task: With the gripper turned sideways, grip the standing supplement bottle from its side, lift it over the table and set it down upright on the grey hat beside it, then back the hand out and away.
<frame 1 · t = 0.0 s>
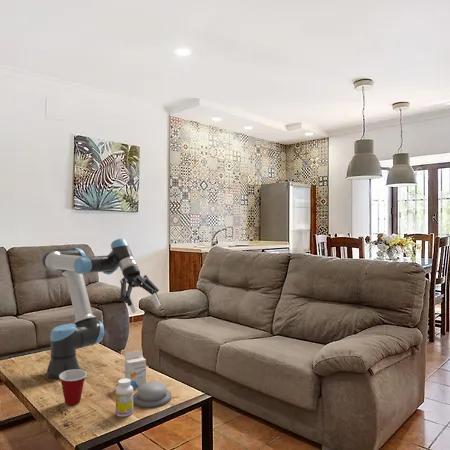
hand: (147, 309, 178), 36 cm above the table, tool tilted 35°, fingers open, 13 cm apart
supplement bottle: (124, 413, 156), on the table
plastic cup: (73, 403, 165), on the table
grey hat: (152, 399, 168), on the table
ink box: (135, 385, 183), on the table
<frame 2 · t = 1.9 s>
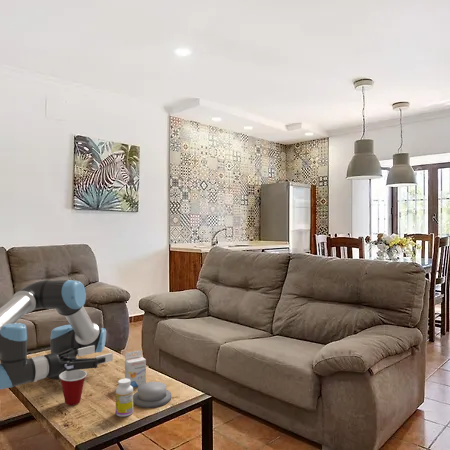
hand: (103, 352, 150), 26 cm above the table, tool horizontal, fingers open, 13 cm apart
nothing on the table moved.
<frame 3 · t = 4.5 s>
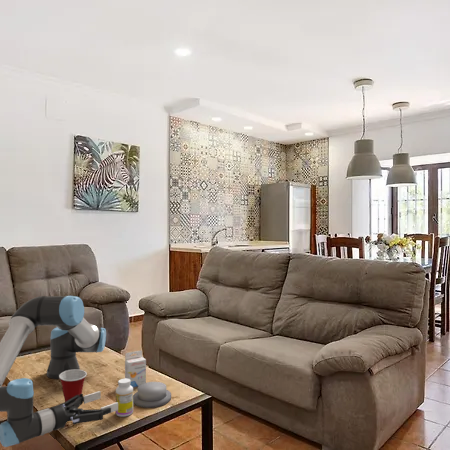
hand: (108, 400, 151), 7 cm above the table, tool horizontal, fingers open, 13 cm apart
nothing on the table moved.
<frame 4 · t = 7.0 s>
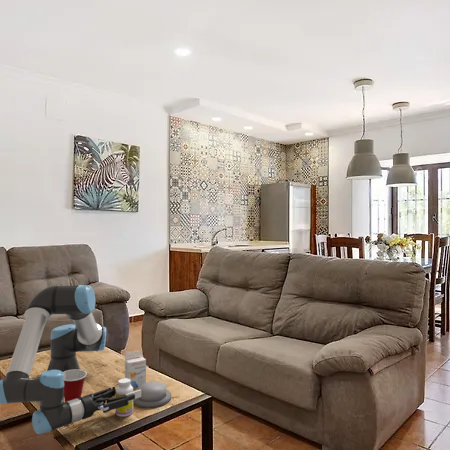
hand: (135, 390, 159), 8 cm above the table, tool horizontal, fingers closed on supplement bottle, 7 cm apart
supplement bottle: (124, 413, 156), on the table, touching gripper
everything else where it was.
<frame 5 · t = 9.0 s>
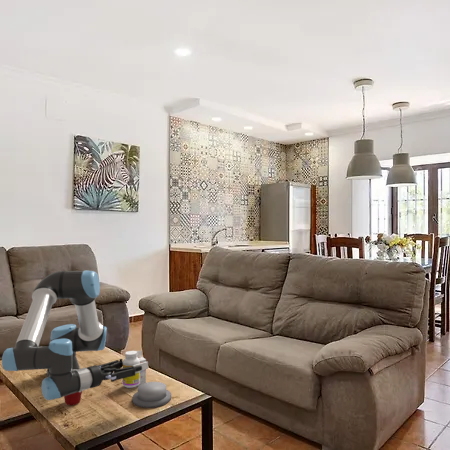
hand: (142, 362, 161), 18 cm above the table, tool horizontal, fingers closed on supplement bottle, 7 cm apart
supplement bottle: (131, 385, 158), point 10 cm above the table, touching gripper
everything else where it was.
when the fingers open (14 cm above the table, at t = 11.1 s): supplement bottle drops 1 cm, resting on grey hat.
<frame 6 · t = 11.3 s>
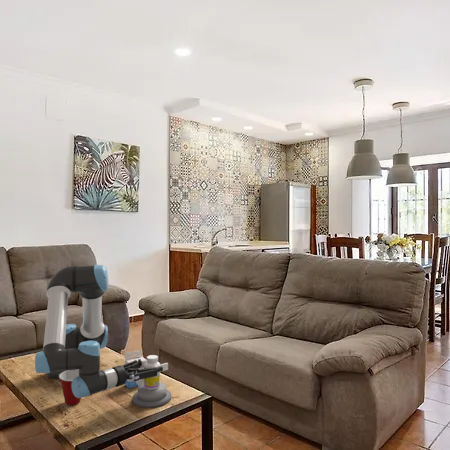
hand: (160, 363, 172), 14 cm above the table, tool horizontal, fingers open, 9 cm apart
supplement bottle: (151, 387, 168), point 5 cm above the table, touching grey hat
everything else where it was.
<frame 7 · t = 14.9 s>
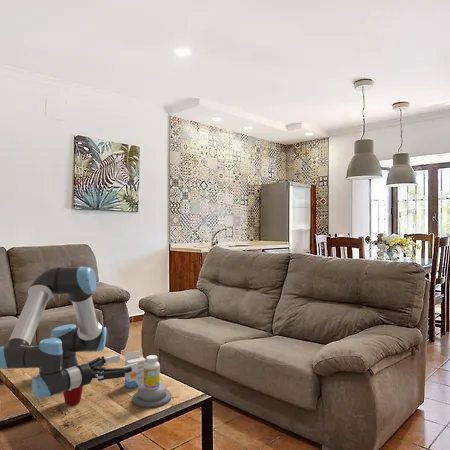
hand: (128, 361, 163), 18 cm above the table, tool horizontal, fingers open, 13 cm apart
nothing on the table moved.
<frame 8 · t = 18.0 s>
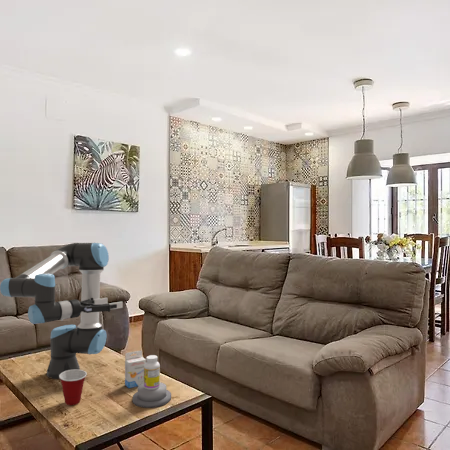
hand: (114, 302, 183), 38 cm above the table, tool horizontal, fingers open, 13 cm apart
nothing on the table moved.
at the end: supplement bottle inside the target area on the grey hat (0.1 cm from its centre), point 4.8 cm above the grey hat's base; supplement bottle tilted 0°; the gripper is holding nothing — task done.
